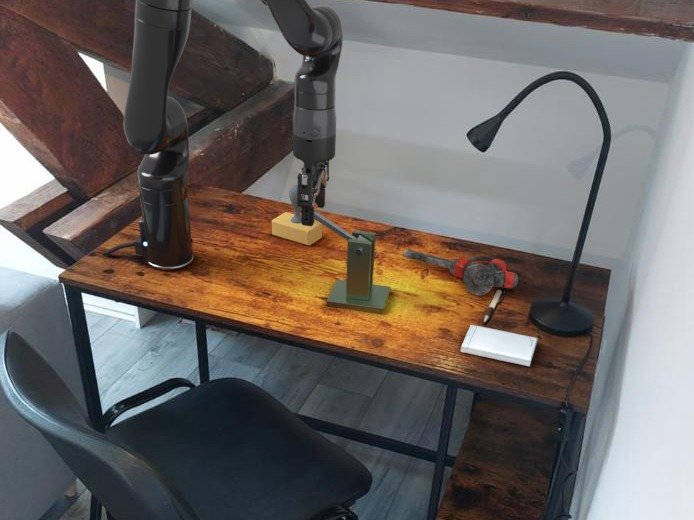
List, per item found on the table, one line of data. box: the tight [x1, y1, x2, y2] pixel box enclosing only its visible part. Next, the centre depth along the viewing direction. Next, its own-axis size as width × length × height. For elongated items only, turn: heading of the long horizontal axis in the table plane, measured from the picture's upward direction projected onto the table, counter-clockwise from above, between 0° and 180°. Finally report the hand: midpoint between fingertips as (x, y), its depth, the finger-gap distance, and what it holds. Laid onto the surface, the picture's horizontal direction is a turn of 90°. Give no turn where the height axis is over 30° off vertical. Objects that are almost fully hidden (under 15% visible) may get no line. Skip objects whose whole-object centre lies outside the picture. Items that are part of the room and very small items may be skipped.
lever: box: [314, 203, 370, 242], centre depth 151 cm, size 14×6×2 cm, turn 78°
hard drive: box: [460, 324, 538, 367], centre depth 145 cm, size 2×8×12 cm
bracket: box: [326, 229, 392, 315], centre depth 154 cm, size 11×9×13 cm
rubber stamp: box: [271, 184, 323, 247], centre depth 177 cm, size 10×6×12 cm, turn 61°
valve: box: [402, 249, 519, 296], centre depth 169 cm, size 6×26×15 cm
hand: (313, 215), depth 150 cm, fingers open, 8 cm apart
